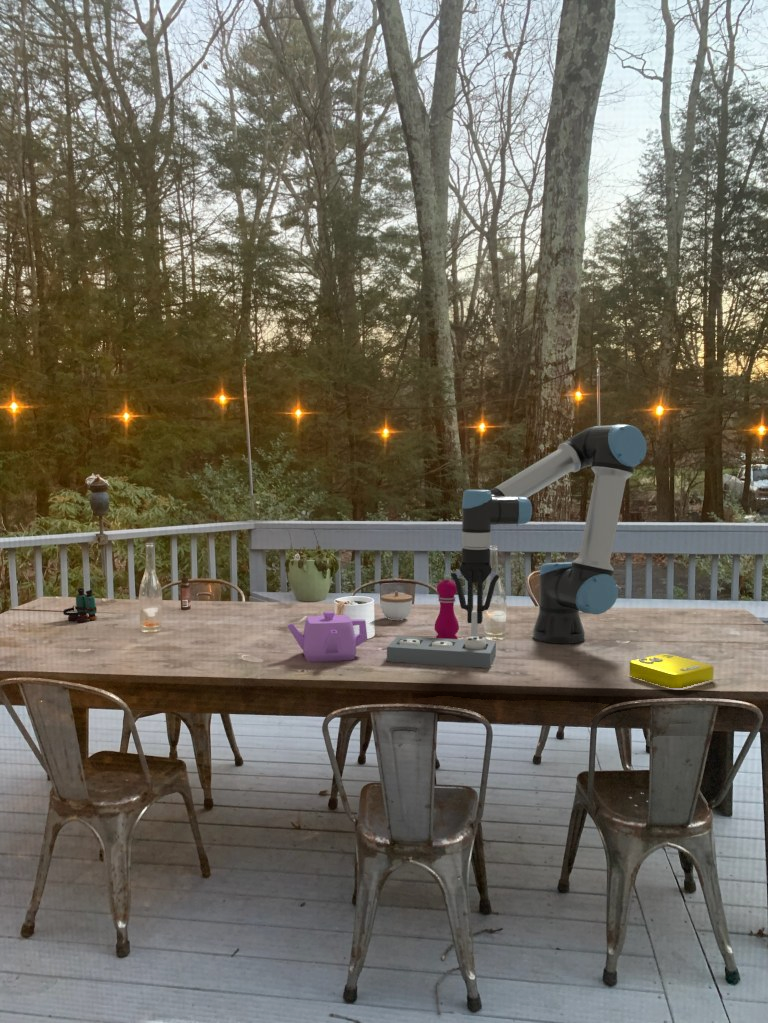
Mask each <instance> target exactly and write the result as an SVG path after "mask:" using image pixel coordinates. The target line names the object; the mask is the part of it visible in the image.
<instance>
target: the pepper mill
mask: <svg viewBox="0 0 768 1023" xmlns="http://www.w3.org/2000/svg"><path fill="white" fill-rule="evenodd" d="M443 579H444V580H441V581H440V582H438V584H437V586H436V592H437V594H438V595H439V596H438V600H437V601H438V603H439V606H440V607H439V613H438V616H437V618H436V619H435V622H434V631H435V632H436V636H435V638H444V639H458V635H457V633H458V632H459V630H460V625H459V621H458V619H457V616H456V614H455V611H454V609H455V608H454V604H455V602H456V596H455V595H456V594H458V593H457V588H456V584H455V581H454V580H450V579H451V577H450V575H448V574H446V575H444V576H443Z"/></svg>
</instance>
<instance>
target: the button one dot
mask: <svg viewBox="0 0 768 1023" xmlns="http://www.w3.org/2000/svg"><path fill="white" fill-rule="evenodd" d="M432 647H448V648H452V647H453V644H452V643H451V642H448V641H435V642H432Z"/></svg>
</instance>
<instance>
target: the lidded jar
mask: <svg viewBox="0 0 768 1023" xmlns="http://www.w3.org/2000/svg"><path fill="white" fill-rule="evenodd" d="M412 605H413V596H412V595H411V594H405V593H399V591H397V590H395V591H394V593H386V594H383V595H380V608H381V611H382V614H383V615H384V616H385V617H386V619H387V618H389V619H394V620H401V621H403V620H402V619H405V620H406V618H408V616H409V615H410V613H411V612H412Z"/></svg>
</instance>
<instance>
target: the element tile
mask: <svg viewBox="0 0 768 1023" xmlns="http://www.w3.org/2000/svg"><path fill="white" fill-rule="evenodd" d="M714 670H715V669H714V665H711V664H708V663H704V662H700V661H698V660H693V659H689V658H685V657H681V656H677V655H674V654H670V653H661V654H656V655H651V656H646V657H641V658H637V659H633V660H632V659H631V660H630V661H629V675H630V676H632V677H635V678H638V679H642V680H645V681H647V682H651V683H654V684H658V685H660V686H665V687H669V688H683V687H687V686H691V685H694V684H698V683H702V682H705V681H709V680H713V681H714ZM630 676H629V677H630Z"/></svg>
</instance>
